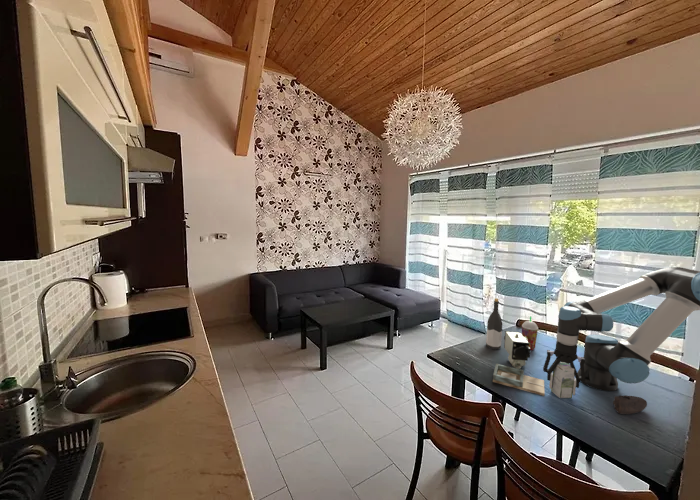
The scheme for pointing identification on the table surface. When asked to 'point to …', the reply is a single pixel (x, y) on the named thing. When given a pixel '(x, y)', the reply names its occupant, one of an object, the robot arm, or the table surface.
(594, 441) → the table surface
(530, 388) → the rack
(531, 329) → the smoothie
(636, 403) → the perforated stone tool
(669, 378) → the table surface
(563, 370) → the syrup box
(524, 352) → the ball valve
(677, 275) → the robot arm
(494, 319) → the wine bottle
